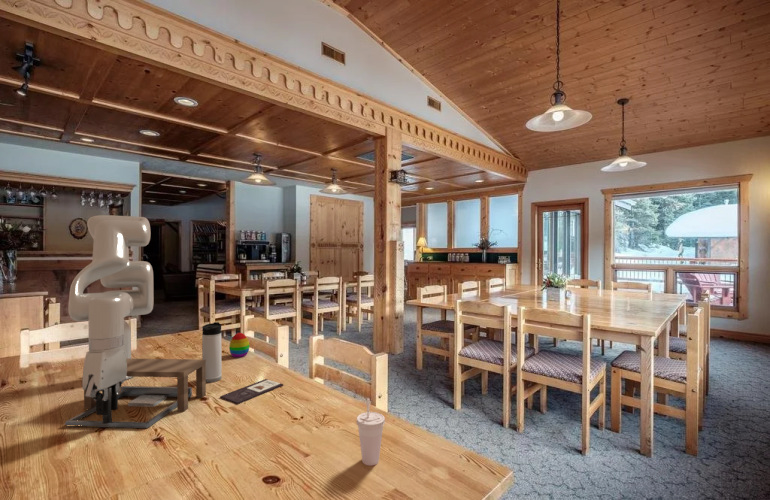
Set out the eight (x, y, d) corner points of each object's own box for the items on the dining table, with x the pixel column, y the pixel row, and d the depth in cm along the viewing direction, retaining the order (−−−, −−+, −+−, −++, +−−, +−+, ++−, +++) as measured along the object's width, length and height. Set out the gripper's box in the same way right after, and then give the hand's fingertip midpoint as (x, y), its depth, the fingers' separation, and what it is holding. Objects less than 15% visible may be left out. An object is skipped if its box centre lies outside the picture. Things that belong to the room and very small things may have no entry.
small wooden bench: (84, 409, 109) (83, 370, 109) (115, 393, 121) (115, 358, 121) (184, 411, 108) (183, 372, 108) (205, 395, 120) (205, 359, 120)
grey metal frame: (63, 427, 98) (62, 382, 98) (123, 394, 120) (123, 358, 120) (145, 429, 97) (145, 384, 97) (191, 396, 119) (191, 359, 119)
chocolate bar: (219, 396, 118) (265, 378, 133) (219, 399, 118) (265, 381, 133) (237, 402, 113) (283, 384, 128) (237, 406, 113) (283, 386, 128)
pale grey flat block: (128, 407, 112) (128, 402, 112) (142, 399, 118) (142, 394, 118) (153, 408, 111) (153, 403, 111) (166, 400, 117) (166, 395, 117)
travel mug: (225, 376, 137) (225, 322, 137) (215, 383, 131) (215, 326, 130) (209, 375, 138) (209, 321, 138) (198, 382, 131) (198, 325, 131)
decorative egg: (252, 355, 163) (252, 332, 163) (235, 359, 157) (234, 336, 157) (243, 351, 169) (243, 329, 169) (225, 355, 163) (225, 333, 163)
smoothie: (356, 453, 87) (356, 393, 87) (383, 452, 87) (383, 392, 87) (356, 469, 80) (356, 405, 80) (386, 468, 81) (386, 404, 81)
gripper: (115, 335, 107) (116, 399, 107) (66, 351, 91) (66, 426, 91) (141, 335, 106) (141, 400, 107) (96, 351, 90) (96, 427, 91)
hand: (107, 411), depth 99 cm, fingers closed on grey metal frame, 2 cm apart
